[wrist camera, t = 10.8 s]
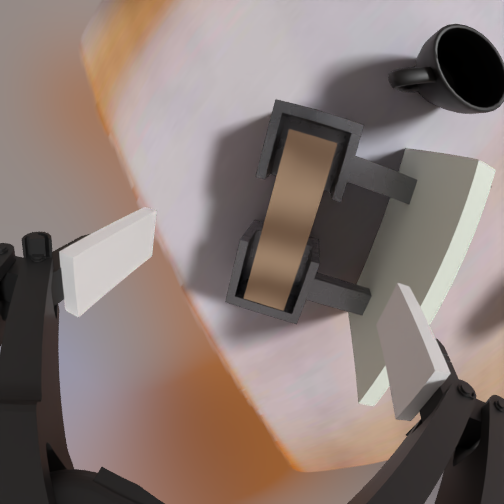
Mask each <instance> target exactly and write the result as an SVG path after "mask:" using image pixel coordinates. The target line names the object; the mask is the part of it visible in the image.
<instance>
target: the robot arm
mask: <svg viewBox="0 0 504 504" xmlns="http://www.w3.org/2000/svg"><path fill="white" fill-rule="evenodd" d="M156 214H157V210H154V209H151V208H147V207H144V208H142V209H140V210H138V211H135V212H133V213H131V214H129V215H127V216H125V217H123V218H121V219H119V220H117V221H115V222H113V223H111V224H109V225H107V226H105V227H103V228H102V229H100V230H98V231H96V232H94V233H92V234H88V235H84V236H81V237H79V238H77V239H75V240H74V241H72V242H70V243H68V244H66V245H65V246H63V247H61V248H59V249H57V250H55V251H53V252H52V240H51V235H49V234H48V233H45V232H32V233H29V234H27V235H25V236H24V237H23V238H22V246H23V255H24V258H22V257H17V256H15V252H14V247H13V246H12V245H11V244H6V243H1V244H0V346H1V352H0V504H164V503H163V502H161V501H160V500H158V499H157V498H155V497H154V496H153V495H151V494H150V493H148V492H147V491H146V490H144V489H143V488H142V487H140V486H139V485H137V484H135V483H133V482H131V481H128V480H127V479H124V478H122V477H120V476H118V475H116V474H115V473H113V472H111V471H109V470H107V469H105V468H103V467H101V469H100V470H99V472H98V473H96V472H90V471H86V470H77V469H74V467H73V464H72V461H71V458H70V456H69V453H68V449H67V444H66V438H65V431H64V424H63V416H62V406H61V396H60V381H59V359H58V358H59V356H58V330H59V327H58V326H59V306H58V303H59V302H61V301H62V300H63V299H64V304H65V310H66V311H67V312H69V313H71V314H73V315H75V316H76V317H78V318H79V317H80V316H81V315H82V314H83V313H84V312H85V311H87V310H88V309H89V308H90V307H91V306H92V305H93V304H95V303H96V302H97V301H98V300H99V299H101V298H102V297H103V296H104V295H105V294H106V293H108V292H109V291H110V290H111V289H112V288H114V287H115V286H116V285H117V284H118V283H120V282H121V281H122V280H123V279H124V278H126V277H127V276H128V275H129V274H130V273H132V272H133V271H134V270H135V269H137V268H138V267H139V266H140V265H141V264H143V263H144V262H145V261H146V260H148V259H149V258H150V257H151V256H152V251H153V241H154V231H155V223H156ZM376 326H377V330H378V335H379V339H380V343H381V347H382V351H383V356H384V360H385V365H386V370H387V375H388V380H389V385H390V390H391V395H392V401H393V406H394V412H395V418H396V419H398V420H407V421H411V420H412V419H413V418H414V417H415V416H416V415H417V414H418V413H419V411H420V415H421V420H420V421H419V422H418V423H417V424H416V425H415V426H414V427H413V428H412V429H411V430H410V431H409V432H408V433H407V434H406V436H407V437H406V439H405V440H404V441H403V442H402V444H401V445H400V446H399V448H398V449H397V450H396V451H395V453H394V454H393V455H392V456H391V457H390V459H389V460H388V461H387V462H386V463H385V464H384V466H383V467H382V468H381V469H380V470H379V471H378V473H377V474H376V475H375V476H374V477H373V478H372V479H371V480H370V481H369V482H368V483H367V484H366V485H365V486H364V487H363V489H362V490H361V491H360V492H359V493H358V494H357V495H356V496H355V497H354V498H353V499H352V500H351V501H349V502H348V503H347V504H424V503H425V501H426V500H427V498H428V497H429V495H430V494H431V492H432V490H433V489H434V487H435V485H436V484H437V482H438V480H439V478H440V477H441V475H442V473H443V471H444V473H443V477H442V481H441V485H440V488H439V491H438V495H437V498H436V501H435V504H504V399H503V398H501V397H500V396H497V395H492V396H491V397H490V398H489V399H488V400H487V402H486V403H485V402H482V401H480V400H478V399H476V394H475V391H474V389H473V388H472V387H471V386H470V385H469V384H468V383H467V382H465V381H463V380H459V379H458V377H457V375H456V372H455V370H454V368H453V365H452V363H451V362H450V359H449V356H447V355H448V354H447V352H446V350H445V348H444V346H443V345H442V344H441V343H440V341H439V340H438V339H435V336H434V334H433V332H432V330H431V328H430V326H429V324H428V322H427V320H426V318H425V316H424V314H423V312H422V310H421V308H420V306H419V304H418V302H417V300H416V298H415V296H414V294H413V292H412V290H411V289H410V287H409V286H406V285H403V284H400V283H397V284H396V287H395V289H394V291H393V293H392V295H391V297H390V299H389V301H388V303H387V305H386V307H385V309H384V311H383V313H382V315H381V317H380V318H379V320H378V322H377V324H376ZM1 344H2V345H1Z"/></svg>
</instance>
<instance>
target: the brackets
mask: <svg viewBox="0 0 504 504" xmlns="http://www.w3.org/2000/svg"><path fill="white" fill-rule="evenodd" d="M363 126H364V125H362V124H359V123H356V122H354V121H351V120H348V119H345V118H341V117H338V116H335V115H332V114H329V113H325V112H322V111H319V110H315V109H312V108H308V107H304V106H301V105H297V104H293V103H289V102H285V101H281V100H275V103H274V107H273V111H272V115H271V119H270V123H269V127H268V130H267V134H266V138H265V142H264V146H263V150H262V154H261V158H260V162H259V166H258V170H257V174H256V177H258V178H262V179H266V178H267V177H268V176H269V175H271V174H272V175H275V176H277V173H278V169H279V165H280V162H281V158H282V154H283V150H284V147H285V143H286V139H287V135H288V132H289V129H291V130H294V131H298V132H301V133H305V134H308V135H312V136H315V137H319V138H322V139H325V140H328V141H332V142H335V143H337V147H336V150H335V154H334V157H333V161H332V164H331V168H330V171H329V174H328V178H327V181H326V184H325V188H324V190H326V191H329V192H330V195H331V198H332V200H335V201H338V202H341V200H342V197H343V194H344V191H345V188H346V184H347V182H348V183H351V184H354V185H357V186H360V187H363V188H366V189H369V190H371V191H374V192H377V193H380V194H382V195H385V196H388V197H390V198H393V199H396V200H398V201H401V202H403V203H406V204H410V201H411V198H412V195H413V193H414V190H415V186H416V183H417V179H414V178H412V177H409V176H407V175H405V174H402V173H400V172H397V171H395V170H392V169H389V168H387V167H384V166H382V165H379V164H376V163H374V162H371V161H368V160H365V159H362V158H360V157H357V156H355V155H356V151H357V148H358V144H359V141H360V137H361V133H362V130H363ZM263 225H264V223H263V222H259V221H256V220H254V222H253V223H252V224H251V226H250V227H249V228H248V230H247V231H246V233H245V234H244V235H243V237H242V238H241V239H240V243H239V247H238V251H237V255H236V259H235V263H234V268H233V272H232V276H231V280H230V284H229V289H228V293H227V297H226V301H225V302H227V303H230V304H233V305H236V306H239V307H242V308H245V309H249V310H252V311H255V312H258V313H261V314H265V315H268V316H271V317H274V318H278V319H281V320H284V321H288V322H291V323H295V324H297V322H298V319H299V317H300V314H301V312H302V309H303V307H304V304H305V301H306V300H310V301H313V302H316V303H320V304H323V305H327V306H330V307H334V308H337V309H340V310H344V311H347V312H351V313H354V314H358V315H363V313H364V311H365V309H366V307H367V305H368V303H369V301H370V299H371V297H372V295H371V292H370V289H369V288H366V287H363V286H359V285H356V284H353V283H349V282H346V281H343V280H340V279H336V278H333V277H330V276H327V275H323V274H320V273H317V270H318V267H319V264H320V262H319V240H318V239H315V238H312V237H309V238H308V241H307V244H306V247H305V250H304V253H303V256H302V259H301V262H300V265H299V268H298V271H297V274H296V277H295V280H294V283H293V285H292V288H291V291H290V294H289V297H288V300H287V302H286V305H285V308H284V311H283V310H279V309H276V308H273V307H269V306H266V305H263V304H260V303H257V302H253V301H250V300H247V299H244V295H245V291H246V288H247V284H248V280H249V277H250V273H251V269H252V266H253V262H254V258H255V255H256V251H257V247H258V243H259V240H260V236H261V232H262V229H263Z"/></svg>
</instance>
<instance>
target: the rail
mask: <svg viewBox="0 0 504 504" xmlns="http://www.w3.org/2000/svg"><path fill="white" fill-rule="evenodd" d="M336 147H337V143H335V142H332V141H328V140H325V139H322V138H319V137H315V136H312V135H308V134H305V133H301V132H298V131H294V130H291V129H289V132H288V135H287V139H286V143H285V147H284V150H283V154H282V158H281V162H280V165H279V169H278V173H277V177H276V180H275V184H274V188H273V191H272V195H271V199H270V203H269V206H268V210H267V214H266V217H265V221H264V225H263V229H262V232H261V236H260V240H259V243H258V247H257V251H256V255H255V258H254V262H253V266H252V269H251V273H250V277H249V280H248V284H247V288H246V291H245V295H244V299H247V300H250V301H253V302H257V303H260V304H263V305H266V306H269V307H273V308H276V309H279V310H283V311H284V308H285V305H286V302H287V300H288V297H289V294H290V291H291V288H292V285H293V283H294V280H295V277H296V274H297V271H298V268H299V265H300V262H301V259H302V256H303V253H304V250H305V247H306V244H307V241H308V238H309V235H310V232H311V229H312V226H313V223H314V220H315V217H316V213H317V210H318V207H319V204H320V201H321V197H322V194H323V191H324V188H325V184H326V181H327V178H328V174H329V171H330V168H331V164H332V161H333V157H334V154H335V150H336Z"/></svg>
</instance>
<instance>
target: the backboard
mask: <svg viewBox="0 0 504 504" xmlns="http://www.w3.org/2000/svg"><path fill="white" fill-rule="evenodd" d="M399 172H400V173H402V174H405V175H407V176H409V177H412V178H414V179H417V183H416V186H415V190H414V193H413V195H412V198H411V201H410V204H406V203H403V202H401V201H398V200H396V199H393V198H390V199H389V202H388V205H387V208H386V211H385V214H384V216H383V219H382V222H381V225H380V227H379V230H378V233H377V235H376V238H375V241H374V243H373V246H372V248H371V251H370V253H369V256H368V258H367V261H366V263H365V266H364V268H363V270H362V273H361V275H360V277H359V280H358V282H357V284H356V285H359V286H363V287H366V288H369V289H370V292H371V295H372V297H371V299H370V301H369V303H368V305H367V307H366V309H365V311H364V313H363V315H358V314H354V313H351V312H348V315H349V322H350V329H351V336H352V344H353V353H354V361H355V371H356V381H357V392H358V404H364V405H369V406H375V404H376V403H377V402H378V401H379V399H380V398H381V397H382V395H383V394H384V393H385V391H386V390H387V389H388V387H389V386H390V385H389V380H388V375H387V370H386V365H385V360H384V356H383V351H382V347H381V343H380V339H379V335H378V330H377V326H376V324H377V322H378V320H379V318H380V317H381V315H382V313H383V311H384V309H385V307H386V305H387V303H388V301H389V299H390V297H391V295H392V293H393V291H394V289H395V287H396V284H397V283H400V284H403V285H406V286H409V287H410V289H411V290H412V292H413V294H414V296H415V298H416V300H417V302H418V304H419V306H420V308H421V310H422V312H423V314H424V316H425V318H426V320H427V322H428V324H429V325H430V324H431V322H432V320H433V319H434V317H435V315H436V313H437V311H438V310H439V308H440V306H441V304H442V302H443V300H444V298H445V297H446V295H447V293H448V291H449V289H450V287H451V285H452V283H453V281H454V279H455V277H456V275H457V272H458V270H459V268H460V266H461V264H462V262H463V259H464V257H465V255H466V253H467V250H468V248H469V246H470V243H471V241H472V238H473V236H474V233H475V231H476V228H477V225H478V223H479V220H480V217H481V215H482V212H483V209H484V206H485V203H486V200H487V197H488V194H489V191H490V187H491V184H492V181H493V177H494V174H495V169H494V168H492V167H490V166H489V165H487V164H485V163H484V162H482V161H480V160H478V159H473V158H467V157H462V156H456V155H450V154H444V153H437V152H431V151H423V150H416V149H407V148H405V152H404V155H403V158H402V162H401V165H400V168H399Z"/></svg>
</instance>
